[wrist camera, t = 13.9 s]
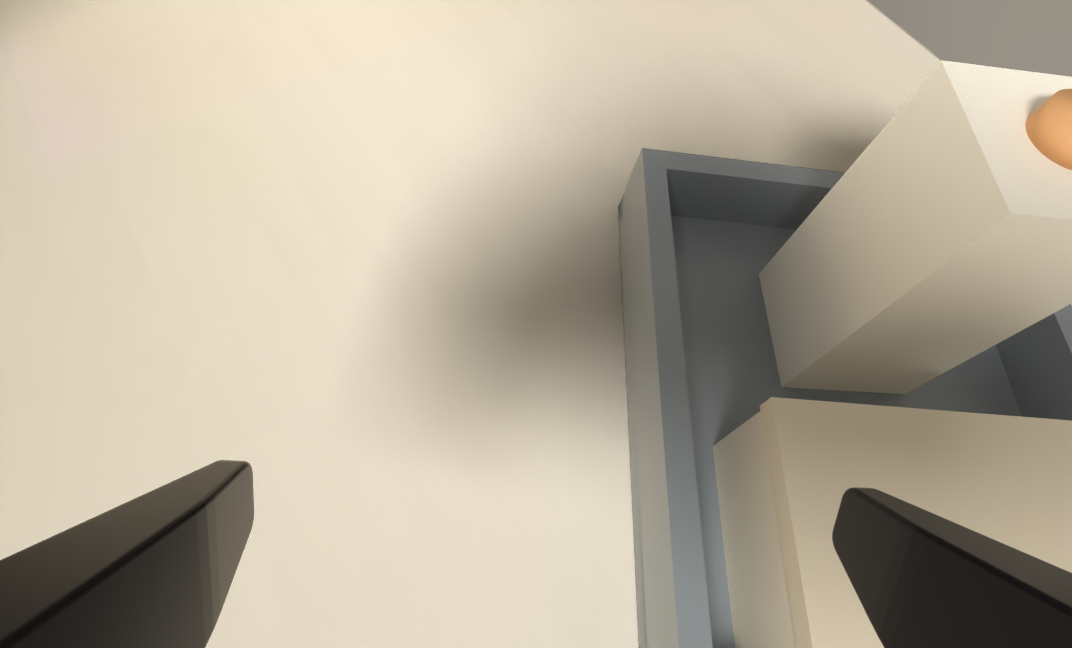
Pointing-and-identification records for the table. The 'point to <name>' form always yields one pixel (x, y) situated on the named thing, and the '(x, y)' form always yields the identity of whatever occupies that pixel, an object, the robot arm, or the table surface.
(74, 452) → the table surface
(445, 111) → the table surface
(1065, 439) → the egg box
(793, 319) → the juice carton
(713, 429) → the tote
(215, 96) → the table surface
